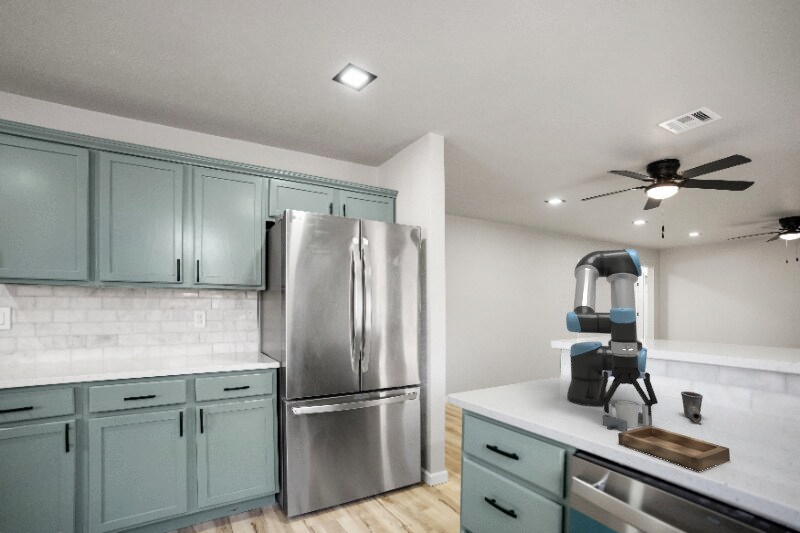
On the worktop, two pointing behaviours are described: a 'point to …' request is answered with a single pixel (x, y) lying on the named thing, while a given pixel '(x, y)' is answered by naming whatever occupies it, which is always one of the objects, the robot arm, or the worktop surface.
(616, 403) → the light grey cup
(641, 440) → the tray
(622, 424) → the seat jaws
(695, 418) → the pipe
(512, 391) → the worktop surface
